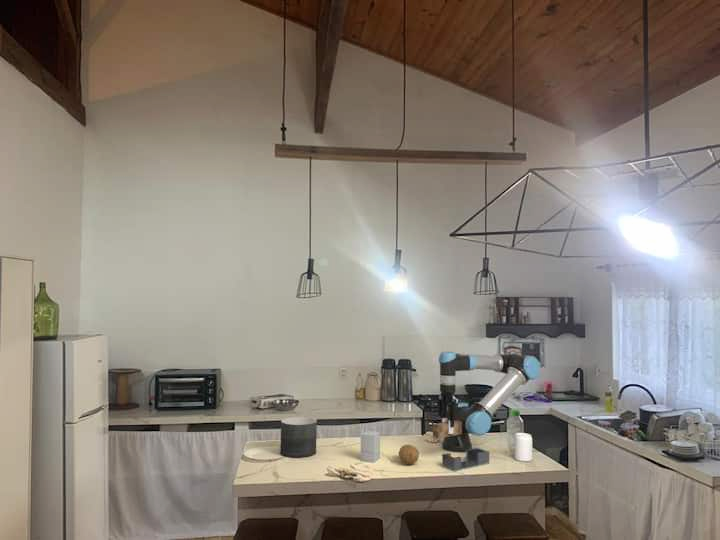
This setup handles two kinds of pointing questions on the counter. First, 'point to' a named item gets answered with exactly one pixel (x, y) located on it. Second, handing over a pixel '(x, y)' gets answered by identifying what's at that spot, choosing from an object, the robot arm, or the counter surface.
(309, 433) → the planter
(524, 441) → the beverage can
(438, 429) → the slat
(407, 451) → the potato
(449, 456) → the grey notched block
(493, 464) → the counter surface
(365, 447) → the supplement box
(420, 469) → the counter surface
